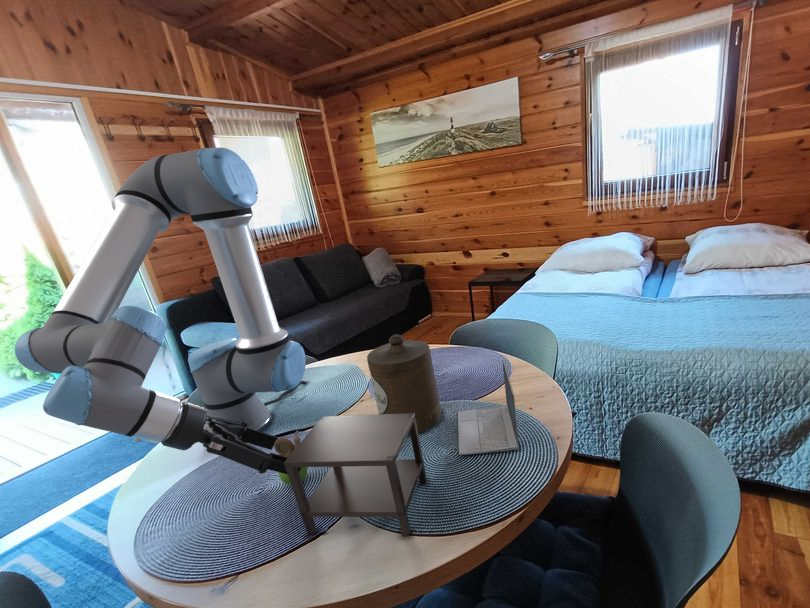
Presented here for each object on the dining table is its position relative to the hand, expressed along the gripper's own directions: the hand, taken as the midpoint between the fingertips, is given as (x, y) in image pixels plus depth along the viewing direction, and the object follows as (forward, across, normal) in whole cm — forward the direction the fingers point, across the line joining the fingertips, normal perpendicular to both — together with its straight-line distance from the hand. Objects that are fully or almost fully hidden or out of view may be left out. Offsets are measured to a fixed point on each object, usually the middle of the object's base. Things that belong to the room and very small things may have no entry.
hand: (286, 455), depth 85 cm
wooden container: (+26, -1, +16) cm, 31 cm away
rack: (+10, +18, 0) cm, 21 cm away
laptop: (+32, +17, +22) cm, 42 cm away
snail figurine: (+6, 0, -4) cm, 7 cm away
